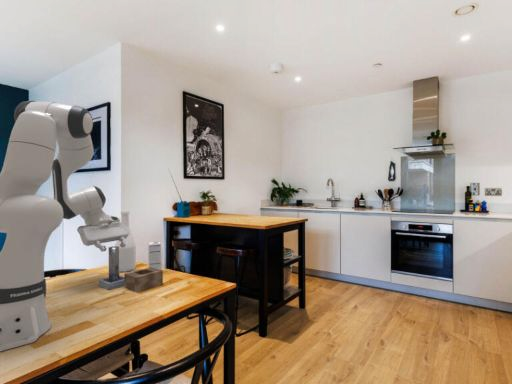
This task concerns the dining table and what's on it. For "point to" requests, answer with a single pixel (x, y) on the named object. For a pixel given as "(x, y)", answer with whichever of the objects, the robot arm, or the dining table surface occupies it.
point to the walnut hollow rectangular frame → (143, 279)
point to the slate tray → (113, 285)
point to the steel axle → (113, 264)
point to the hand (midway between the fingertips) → (114, 248)
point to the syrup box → (154, 255)
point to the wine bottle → (126, 248)
